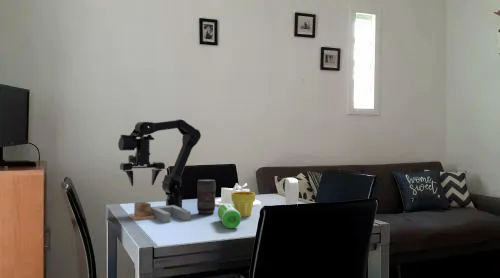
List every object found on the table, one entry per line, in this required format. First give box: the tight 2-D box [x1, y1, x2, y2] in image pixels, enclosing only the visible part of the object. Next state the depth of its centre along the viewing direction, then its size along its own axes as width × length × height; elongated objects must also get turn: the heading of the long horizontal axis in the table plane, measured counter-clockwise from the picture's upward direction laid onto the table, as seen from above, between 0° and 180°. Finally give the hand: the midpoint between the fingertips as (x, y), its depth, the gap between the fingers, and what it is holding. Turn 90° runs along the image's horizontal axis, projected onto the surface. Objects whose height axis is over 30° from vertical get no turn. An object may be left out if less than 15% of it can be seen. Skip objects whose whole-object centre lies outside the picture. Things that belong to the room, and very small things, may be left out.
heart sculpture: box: [284, 177, 300, 206], centre depth 184 cm, size 16×5×18 cm, turn 2°
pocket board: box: [151, 205, 192, 224], centre depth 191 cm, size 11×18×4 cm, turn 31°
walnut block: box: [133, 201, 152, 217], centre depth 190 cm, size 5×6×5 cm
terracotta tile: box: [128, 213, 155, 221], centre depth 191 cm, size 8×9×1 cm
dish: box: [215, 182, 262, 208], centre depth 230 cm, size 25×25×11 cm
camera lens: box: [196, 179, 217, 216], centre depth 201 cm, size 8×8×15 cm
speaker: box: [217, 203, 242, 229], centre depth 179 cm, size 18×7×8 cm, turn 11°
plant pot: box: [231, 191, 256, 218], centre depth 199 cm, size 10×10×10 cm
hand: (142, 185), depth 201 cm, fingers open, 9 cm apart
